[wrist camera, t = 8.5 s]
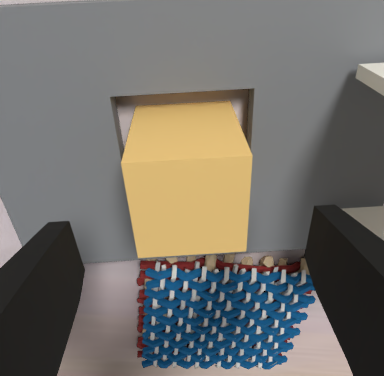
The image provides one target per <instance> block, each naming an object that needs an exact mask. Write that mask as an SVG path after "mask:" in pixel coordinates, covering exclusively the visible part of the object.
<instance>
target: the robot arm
mask: <svg viewBox="0 0 384 376" xmlns="http://www.w3.org/2000/svg"><path fill="white" fill-rule="evenodd" d="M304 257H305V260H306V263H307V267H308V270H309V274H310V277H311V280H312V283H313V286H314V288H315V291H316V293H317V295H318V297H319V300H320V302H321V304H322V306H323V309H324V311H325V313H326V315H327V317H328V320H329V322H330V324H331V326H332V328H333V330H334V333H335V335H336V337H337V339H338V341H339V344H340V346H341V348H342V350H343V352H344V354H345V357H346V359H347V361H348V364H349V366H350V369H351V371H352V374H353V376H384V240H382V239H381V238H380V237H378V236H377V235H376V234H374V233H373V232H372V231H370V230H369V229H368V228H366V227H365V226H364V225H362V224H361V223H360V222H358V221H357V220H356V219H354V218H353V217H352V216H350V215H349V214H347V213H346V212H345V211H343V210H342V209H341V208H339V207H338V206H336V205H335V204H334V205H318V206H314V209H313V214H312V219H311V224H310V229H309V234H308V239H307V245H306V250H305V255H304ZM84 272H85V269H84V266H83V262H82V259H81V256H80V253H79V250H78V247H77V243H76V240H75V237H74V234H73V231H72V228H71V225H70V221H58V222H48V223H47V224H46V225H45V226H44V227H43V228H42V229H40V230H39V231H38V232H37V233H36V234H35V235H34V236H33V237H32V238H31V239H30V240H29V241H28V242H27V243H26V244H25V245H24V246H23V247H22V248H21V249H20V250H19V251H18V252H17V253H16V254H15V255H14V256H13V257H12V258H11V259H10V260H9V261H7V262H6V263H5V264H4V265H3V266H2V267H1V268H0V376H57V373H58V370H59V367H60V364H61V361H62V357H63V354H64V351H65V348H66V344H67V341H68V338H69V335H70V331H71V328H72V325H73V322H74V318H75V315H76V312H77V308H78V305H79V301H80V296H81V290H82V285H83V278H84Z"/></svg>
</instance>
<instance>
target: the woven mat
mask: <svg viewBox="0 0 384 376" xmlns="http://www.w3.org/2000/svg"><path fill="white" fill-rule="evenodd" d="M234 256H235V253H234V254H224V258H223V262H222V261H220V260H218V259H217V255H206V256H205V258H200V259H198V260H196V256H188V257H187V259H186V262H177V257H173V258H166V261H157V259H146V261H141V263H140V269H145V271H142V270H141V272H140V278H138V279H137V284H138V286H141V285H143V284H144V285H145V290H140V296H139V298H138V299H137V302H138V303H141V304H144V306H143V307H139V314H144V315H139V321H138V322H139V325H138V327H137V330H138V331H139V333H141V332H142V337H138V343H137V347H138V348H141V349H143V350H142V351H138V356H137V357H143V358H145V359H147V360H145V361H142V366H143V368H145V367H148V366H151V365H154V366H155V367H157V365H158V366H159V367H160V368H167V367H168V366H170V365H171V364H173V365H172V366H173V368H174V367H176V365H179V366H181V367H183V368H186V369H189V367H191V366H193V365H194V364H195V365H194V366H195V368H197V367H199V366H200V367H201V368H204V369H207V368H209V367H210V366H212V365H213V364H214V363H215V364H217V365H215V366H216V367H223V368H225V369H230V368H231V367H232V366H234V365H235V364H236V365H235V367H236V368H238V369H239V367H240V366H242V367H244V368H247V369H250V368H252V367H254V366H256V365H258V366H256V367H258V368H260V369H261V367H262V368H264V369H271V368H272V367H274V366H275V365H277V364H280V365H281V364H282V363H284V362H287V357H286V356H282V354H281V352H287V351H288V350H290V349H293V346H294V345H293V344H292V342H290V343H287V340H290V338H294V336H296V335H299V334H300V330H299V329H298V328H293V326H292V325H293V324H295V323H296V324H300V322H301V320H306V319H307V316H308V315H307V314H306V313H305V312H304V313H300V312H299V311H297V310H299V309H302V308H307V307H308V305H309V304H312V303H314V302H315V298H314V296H306V295H304V293H306V294H311V292H312V290H314V291H315V288H314V286H313V283H312V280H311V277H310V274H309V270H308V267H307V263H306V260H305V258H301V262H296V263H294V264H292V265H287V261H288V258H280V260H279V262H278V264H277V266H274V262H273V257H272V256H264V257H263V258H261V260H260V264H259V266H253V260H252V258H251V257H244V258H243V259H242V260H241V264H234V263H233V260H234ZM200 267H202V269H200ZM215 268H218V269H220V270H221V271H220V272H219V270H218V269H215ZM160 269H161V271H160ZM182 270H184V271H182ZM293 272H295V273H293ZM286 273H291V274H289V275H287V274H286ZM176 280H177V281H176ZM229 280H230V282H229V283H228V281H229ZM197 281H199V282H197ZM253 283H254V284H253ZM301 285H302V286H301ZM158 287H159V290H158ZM285 290H287V291H285ZM232 291H233V292H232ZM264 291H266V292H264ZM284 291H285V292H284ZM263 292H264V293H263ZM174 297H176V298H177V299H174ZM241 300H242V301H241ZM206 306H207V307H206ZM211 307H212V308H211ZM275 309H276V310H275ZM172 314H174V315H172ZM238 315H240V316H238ZM237 316H238V317H237ZM274 323H275V324H274ZM271 324H272V325H271ZM284 332H285V333H284ZM185 357H187V359H186V361H184V358H185ZM167 358H168V360H166V359H167ZM248 358H251V359H249V360H248V362H247V361H246V360H247V359H248ZM224 359H225V361H224Z"/></svg>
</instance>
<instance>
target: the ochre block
mask: <svg viewBox="0 0 384 376" xmlns="http://www.w3.org/2000/svg"><path fill="white" fill-rule="evenodd" d="M252 157H253V155H252V153H251V151H250V148H249V146H248V143H247V141H246V138H245V136H244V134H243V131H242V129H241V126H240V124H239V121H238V119H237V116H236V114H235V112H234V109H233V107H232V104H231V102H230V101H214V102H196V103H178V104H160V105H142V106H136V108H135V112H134V115H133V119H132V123H131V127H130V131H129V134H128V138H127V142H126V146H125V150H124V154H123V157H122V161H121V167H122V172H123V178H124V183H125V189H126V194H127V200H128V205H129V211H130V216H131V222H132V228H133V233H134V239H135V244H136V250H137V255H138V258H148V257H165V256H181V255H197V254H213V253H229V252H245V251H246V248H247V233H248V218H249V203H250V188H251V172H252Z"/></svg>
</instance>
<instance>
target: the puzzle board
mask: <svg viewBox="0 0 384 376" xmlns="http://www.w3.org/2000/svg"><path fill="white" fill-rule="evenodd" d="M368 63H384V0H84V1H66V2H48V3H29V4H11V5H0V197H1V199H2V201H3V203H4V206H5V208H6V210H7V213H8V215H9V217H10V219H11V222H12V224H13V226H14V229H15V231H16V233H17V235H18V238H19V240H20V242H21V244H22V247H23V246H24V245H25V244H26V243H27V242H28V241H29V240H30V239H31V238H32V237H33V236H34V235H35V234H36V233H37V232H38V231H39V230H40V229H42V228H43V227H44V226H45V225H46V224H47V223H48V222H58V221H70V225H71V228H72V231H73V234H74V237H75V240H76V243H77V247H78V250H79V253H80V256H81V259H82V262H83V263H97V262H112V261H127V260H143V259H158V258H173V257H188V256H204V255H219V254H234V253H249V252H264V251H280V250H295V249H306V245H307V239H308V234H309V229H310V224H311V219H312V214H313V209H314V206H318V205H334V204H335V205H336V206H338V207H339V208H341V209H343V208H359V207H374V206H383V204H384V96H383V95H381V94H380V93H378V92H377V91H375V90H374V89H372V88H370V87H369V86H367V85H366V84H364V83H363V82H361V81H359V80H358V79H356V78H355V77H356V73H357V68H358V64H368ZM235 89H249V105H248V124H247V143H248V146H249V148H250V151H251V153H252V155H253V157H252V172H251V188H250V203H249V218H248V233H247V248H246V251H245V252H229V253H213V254H197V255H181V256H165V257H148V258H138V255H137V250H136V244H135V239H134V233H133V228H132V222H131V216H130V211H129V205H128V200H127V194H126V189H125V183H124V178H123V172H122V167H121V161H122V157H123V154H124V146H123V140H122V135H121V129H120V123H119V117H118V112H117V106H116V100H115V96H133V95H150V94H167V93H184V92H201V91H218V90H235Z"/></svg>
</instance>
